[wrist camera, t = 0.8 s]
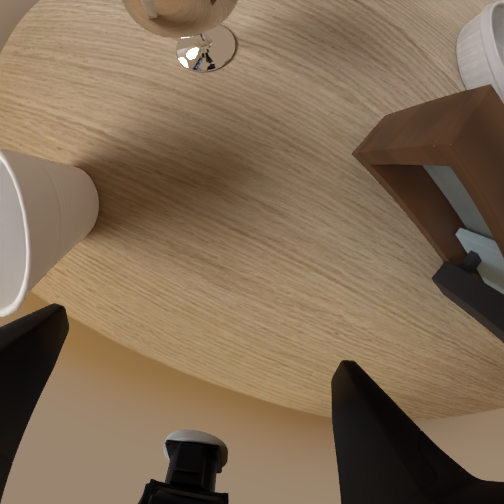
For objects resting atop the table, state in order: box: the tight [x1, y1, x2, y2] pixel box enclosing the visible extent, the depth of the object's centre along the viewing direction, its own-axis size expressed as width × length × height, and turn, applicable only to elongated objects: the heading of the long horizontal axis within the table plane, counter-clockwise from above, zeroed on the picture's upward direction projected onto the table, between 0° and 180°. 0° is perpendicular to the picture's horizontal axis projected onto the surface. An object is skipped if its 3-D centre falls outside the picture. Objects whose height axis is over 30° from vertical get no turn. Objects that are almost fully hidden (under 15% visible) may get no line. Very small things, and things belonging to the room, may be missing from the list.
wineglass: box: [121, 0, 238, 72], centre depth 12 cm, size 6×6×12 cm
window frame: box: [352, 84, 504, 283], centre depth 16 cm, size 4×22×12 cm, turn 49°
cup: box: [0, 147, 99, 317], centre depth 16 cm, size 10×10×11 cm
